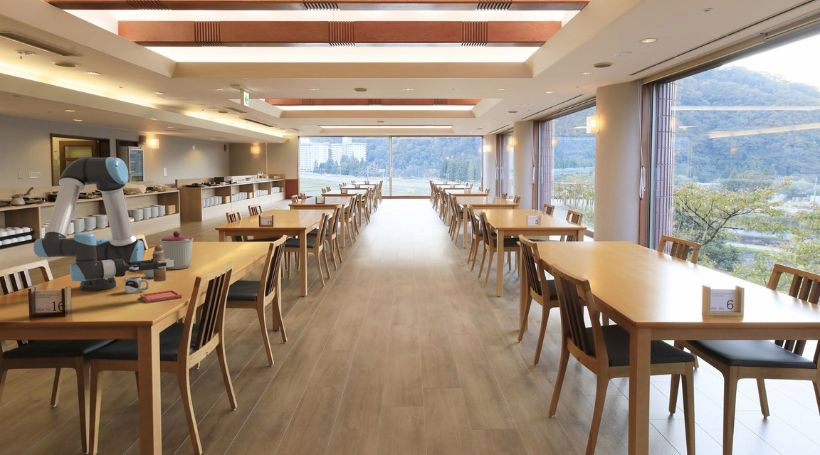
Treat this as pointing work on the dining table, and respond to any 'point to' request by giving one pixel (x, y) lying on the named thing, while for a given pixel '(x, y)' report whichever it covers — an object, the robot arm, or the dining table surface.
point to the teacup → (149, 273)
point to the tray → (160, 296)
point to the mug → (135, 285)
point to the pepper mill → (158, 256)
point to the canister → (178, 249)
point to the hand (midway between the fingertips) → (171, 262)
